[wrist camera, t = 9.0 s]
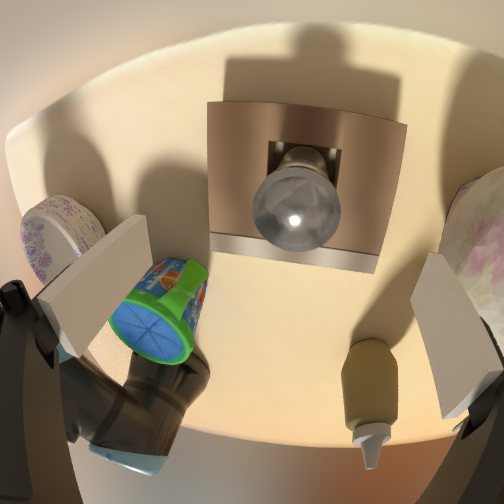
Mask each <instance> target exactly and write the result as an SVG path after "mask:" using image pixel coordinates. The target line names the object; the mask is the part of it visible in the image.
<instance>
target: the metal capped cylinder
mask: <svg viewBox="0 0 504 504" xmlns="http://www.w3.org/2000/svg"><path fill="white" fill-rule="evenodd" d="M252 214H253V219H254V223H255V225H256V227H257V229H258V231H259V232H260V234H261V235H262V236H263V237H264V238H265V239H266V240H267V241H268V242H270V243H271V244H273V245H274V246H276V247H278V248H280V249H283V250H286V251H291V252H305V251H310V250H313V249H316V248H318V247H320V246H322V245H323V244H325V243H326V242H327V241H328V240H330V239H331V237H332V236H333V235H334V234H335V232H336V230H337V228H338V226H339V223H340V218H341V207H340V201H339V197H338V194H337V191H336V189H335V187H334V186H333V184H332V183H331V182H330V180H329V178H328V173H327V168H326V163H325V160H324V158H323V157H322V155H321V154H320V153H319V152H317V151H316V150H314V149H312V148H310V147H305V146H300V147H295V148H293V149H291V150H289V151H288V152H287V153H286V154H285V155H284V157H283V158H282V160H281V162H280V164H279V166H278V167H277V169H276V171H274V172H272V173H271V174H270V175H268V176H267V177H266V178H265V179H264V181H263V182H262V183H261V185H260V186H259V188H258V190H257V191H256V194H255V196H254V199H253V204H252Z"/></svg>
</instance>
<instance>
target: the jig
mask: <svg viewBox="0 0 504 504" xmlns="http://www.w3.org/2000/svg"><path fill="white" fill-rule="evenodd" d="M406 132H407V125H406V124H403V123H399V122H395V121H392V120H387V119H383V118H378V117H374V116H369V115H364V114H359V113H353V112H348V111H342V110H335V109H328V108H321V107H313V106H304V105H294V104H282V103H267V102H238V101H221V102H207V161H208V204H209V231H210V232H209V239H210V251H215V252H222V253H229V254H236V255H243V256H250V257H257V258H264V259H271V260H278V261H285V262H292V263H299V264H306V265H313V266H320V267H327V268H334V269H341V270H349V271H356V272H363V273H370V274H374V272H375V269H376V265H377V262H378V259H379V254H380V251H381V248H382V244H383V241H384V237H385V234H386V230H387V226H388V222H389V218H390V214H391V210H392V206H393V202H394V198H395V193H396V189H397V184H398V179H399V174H400V169H401V163H402V158H403V152H404V145H405V139H406ZM275 141H278V142H288V143H298V144H306V145H314V146H322V147H329V148H335V149H337V152H336V160H335V168H334V175H333V183H332V184H333V186H334V187H335V189H336V191H337V194H338V197H339V201H340V207H341V218H340V223H339V226H338V228H337V230H336V232H335V234H334V235H333V236H332V237H331V239H330V240H328V241H327V242H326V243H325V244H323V245H322V246H320V247H318V248H316V249H313V250H310V251H305V252H291V251H286V250H283V249H280V248H278V247H276V246H274V245H273V244H271V243H270V242H268V241H267V240H266V239H265V238H264V237H263V236H262V235H261V234H260V232H259V231H258V229H257V227H256V225H255V223H254V219H253V214H252V204H253V199H254V196H255V194H256V191H257V190H258V188H259V186H260V185H261V183H262V182H263V181H264V179H265V178H266V177H267V176H268V175H270V174H271V173H272V172H273V161H274V144H275Z"/></svg>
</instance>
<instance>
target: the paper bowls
mask: <svg viewBox="0 0 504 504" xmlns="http://www.w3.org/2000/svg"><path fill="white" fill-rule="evenodd" d="M20 232H21V241H22V245H23V249H24V252H25V255H26V257H27V260H28V262H29V264H30V265H31V267H32V269H33V271H34V272H35V274H36V275H37V277H38V278H39V280H40V281H41V282H42V283H43V284H44V285H45V286H46V285H47V284H48V283H49V282H50V281H51V280H54V278H55V277H56V276H57V275H58V274H60V272H61V271H62V270H63V269H65V268H66V267H67V266H68V265H70V264H72V263H73V262H75V261H76V260H77V259H78V258H79V257H81V256H82V255H83V254H84V253H85V252H86V251H88V250H89V249H90V248H91V247H92V246H93V245H95V244H96V243H97V242H98V241H99V240H101V239H102V238H103V237H104V236H106V234H105V231H104V229H103V227H102V225H101V223H100V222H99V220H98V219H97V218H96V216H95V215H94V214H93V213H92V212H91V211H90V210H88V209H87V208H86V207H84V206H82V205H80V204H79V203H78V202H77V201H75V200H74V199H72V198H70V197H68V196H65V195H54V196H52V197H49V198H47V199H45V200H44V201H42V202H40V203H39V204H37V205H36V206H35V207H33V208H31V209H29V210H28V211H27V212H26V214H25V215H24V217H23V219H22V222H21V230H20Z"/></svg>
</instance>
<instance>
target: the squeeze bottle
mask: <svg viewBox="0 0 504 504" xmlns="http://www.w3.org/2000/svg"><path fill="white" fill-rule="evenodd" d="M341 379H342V388H343V399H344V410H345V423H346V426H347V428H348V429H350V430H351V431H353V439H352V443H353V444H354V445H356V446H360V447H361V448H362V452H363V457H364V462H365V466H366V469H374V468H376V466H377V462H378V458H379V455H380V450H381V446H382V444H383V443H385V442H387V441H389V439H390V438H391V427H390V426H391V425H392V424H393V423H394V422H395V421H396V420H397V418H398V366H397V362H396V359H395V358H394V356H393V354H392V353H391V351H390V350H389V348H388V347H387V345H386V344H385V343H384V342H382V341H380V340H376V339H367V340H364V341H360V342H358V343H357V344H355V345H353V346H352V348H351V349H350V350H349V352H348V355H347V358H346V360H345V363H344V365H343V368H342V372H341Z"/></svg>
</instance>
